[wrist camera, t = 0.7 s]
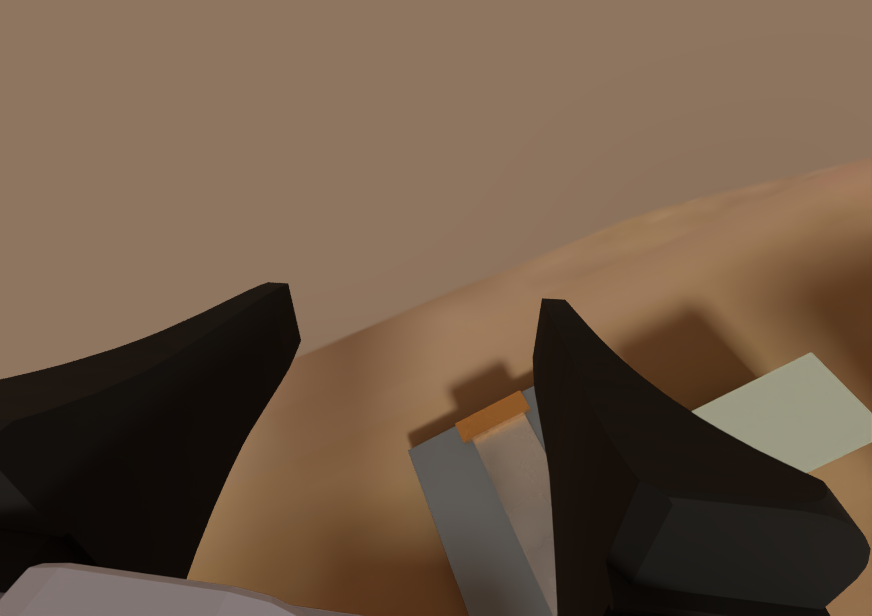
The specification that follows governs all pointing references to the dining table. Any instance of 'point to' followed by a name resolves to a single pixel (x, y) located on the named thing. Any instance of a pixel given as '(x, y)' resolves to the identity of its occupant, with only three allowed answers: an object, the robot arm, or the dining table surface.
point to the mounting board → (478, 525)
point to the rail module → (794, 415)
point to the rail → (518, 480)
